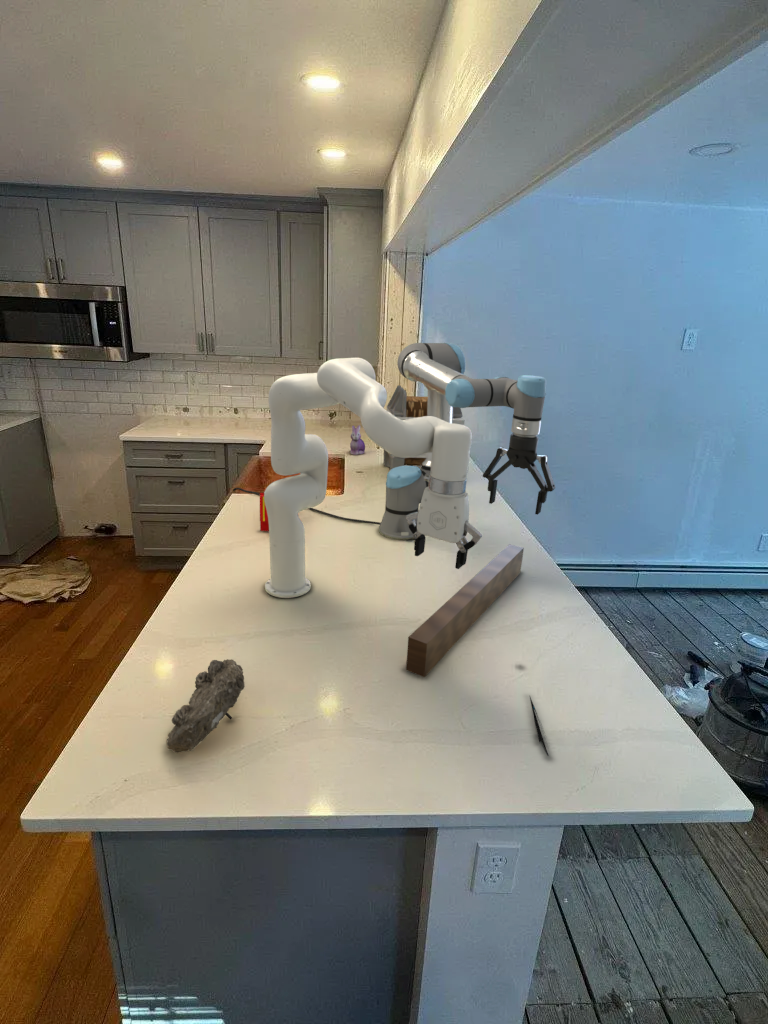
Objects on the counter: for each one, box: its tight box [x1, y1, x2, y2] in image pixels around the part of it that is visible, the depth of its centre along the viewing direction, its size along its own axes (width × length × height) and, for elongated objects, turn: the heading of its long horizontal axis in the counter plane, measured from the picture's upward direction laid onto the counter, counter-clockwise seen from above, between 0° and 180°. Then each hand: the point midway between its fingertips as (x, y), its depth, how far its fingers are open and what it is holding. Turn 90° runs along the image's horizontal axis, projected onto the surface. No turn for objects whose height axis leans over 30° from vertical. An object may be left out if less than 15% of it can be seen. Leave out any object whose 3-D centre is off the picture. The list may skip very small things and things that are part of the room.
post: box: [405, 543, 525, 678], centre depth 148 cm, size 64×5×8 cm, turn 149°
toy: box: [259, 491, 269, 532], centre depth 208 cm, size 12×13×30 cm
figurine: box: [349, 424, 366, 455], centre depth 305 cm, size 9×10×15 cm
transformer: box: [383, 384, 465, 471], centre depth 268 cm, size 34×33×41 cm
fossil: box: [166, 658, 245, 754], centre depth 106 cm, size 22×10×15 cm
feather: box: [529, 696, 549, 756], centre depth 114 cm, size 2×28×2 cm
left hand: (439, 560), depth 122 cm, fingers open, 9 cm apart
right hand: (514, 507), depth 161 cm, fingers open, 13 cm apart
